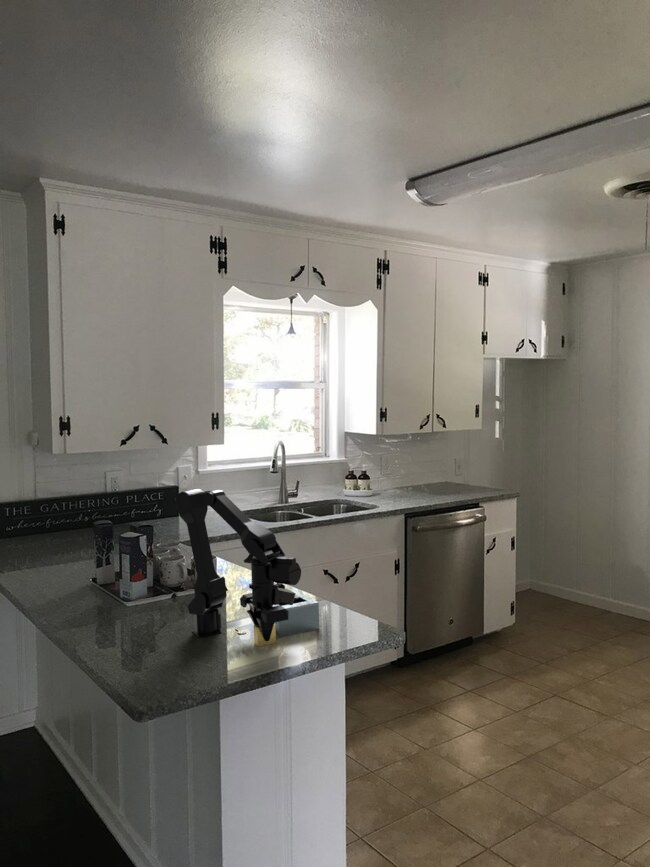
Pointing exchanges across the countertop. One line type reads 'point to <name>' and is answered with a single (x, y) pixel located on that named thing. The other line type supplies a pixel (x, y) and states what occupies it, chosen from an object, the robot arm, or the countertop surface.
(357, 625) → the countertop surface
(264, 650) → the countertop surface
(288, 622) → the box
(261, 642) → the block
